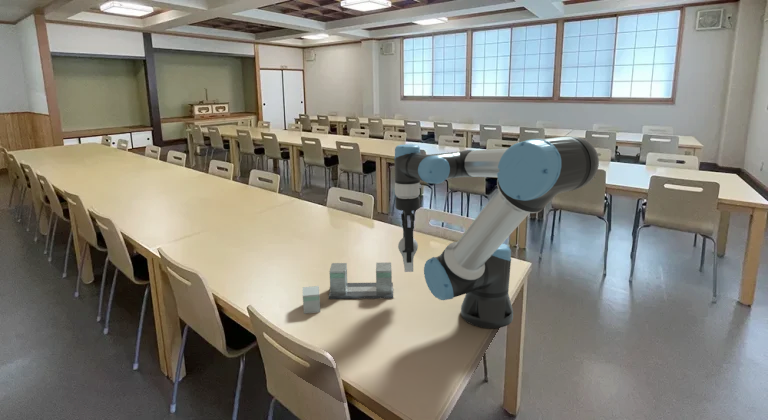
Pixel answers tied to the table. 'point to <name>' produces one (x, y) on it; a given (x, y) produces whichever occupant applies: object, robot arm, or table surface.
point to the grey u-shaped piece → (360, 290)
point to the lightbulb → (402, 246)
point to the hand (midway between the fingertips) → (408, 267)
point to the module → (311, 299)
